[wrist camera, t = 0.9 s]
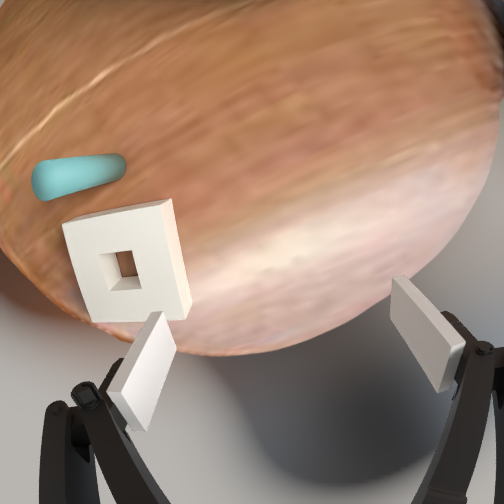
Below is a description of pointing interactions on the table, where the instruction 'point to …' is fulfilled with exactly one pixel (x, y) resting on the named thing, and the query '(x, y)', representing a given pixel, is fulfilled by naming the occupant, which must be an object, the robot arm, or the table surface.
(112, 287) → the socket board
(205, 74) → the table surface
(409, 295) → the robot arm
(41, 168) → the peg
